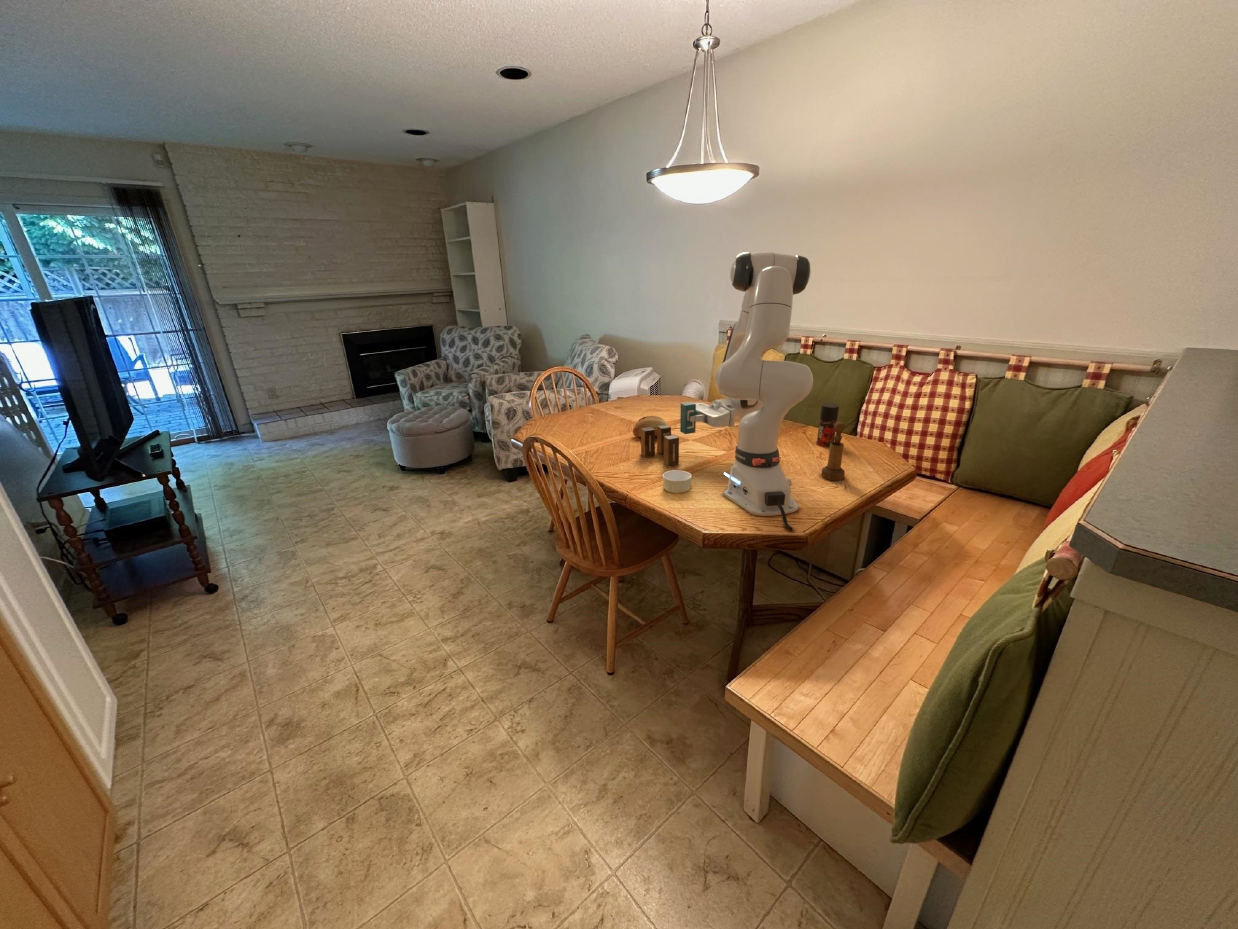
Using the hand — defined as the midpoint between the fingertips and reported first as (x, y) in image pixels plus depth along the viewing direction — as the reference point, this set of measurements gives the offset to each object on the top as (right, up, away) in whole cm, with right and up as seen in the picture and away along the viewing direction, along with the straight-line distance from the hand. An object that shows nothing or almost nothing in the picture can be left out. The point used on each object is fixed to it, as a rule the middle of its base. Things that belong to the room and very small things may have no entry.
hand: (685, 417), depth 162 cm
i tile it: (-12, -13, +13) cm, 22 cm away
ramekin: (-5, -24, -15) cm, 28 cm away
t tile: (-6, -12, +15) cm, 20 cm away
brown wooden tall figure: (+45, -20, -10) cm, 51 cm away
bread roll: (-10, -5, +34) cm, 35 cm away
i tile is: (-5, -16, +4) cm, 17 cm away
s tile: (+1, -5, +2) cm, 6 cm away
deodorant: (+55, -9, +18) cm, 59 cm away
